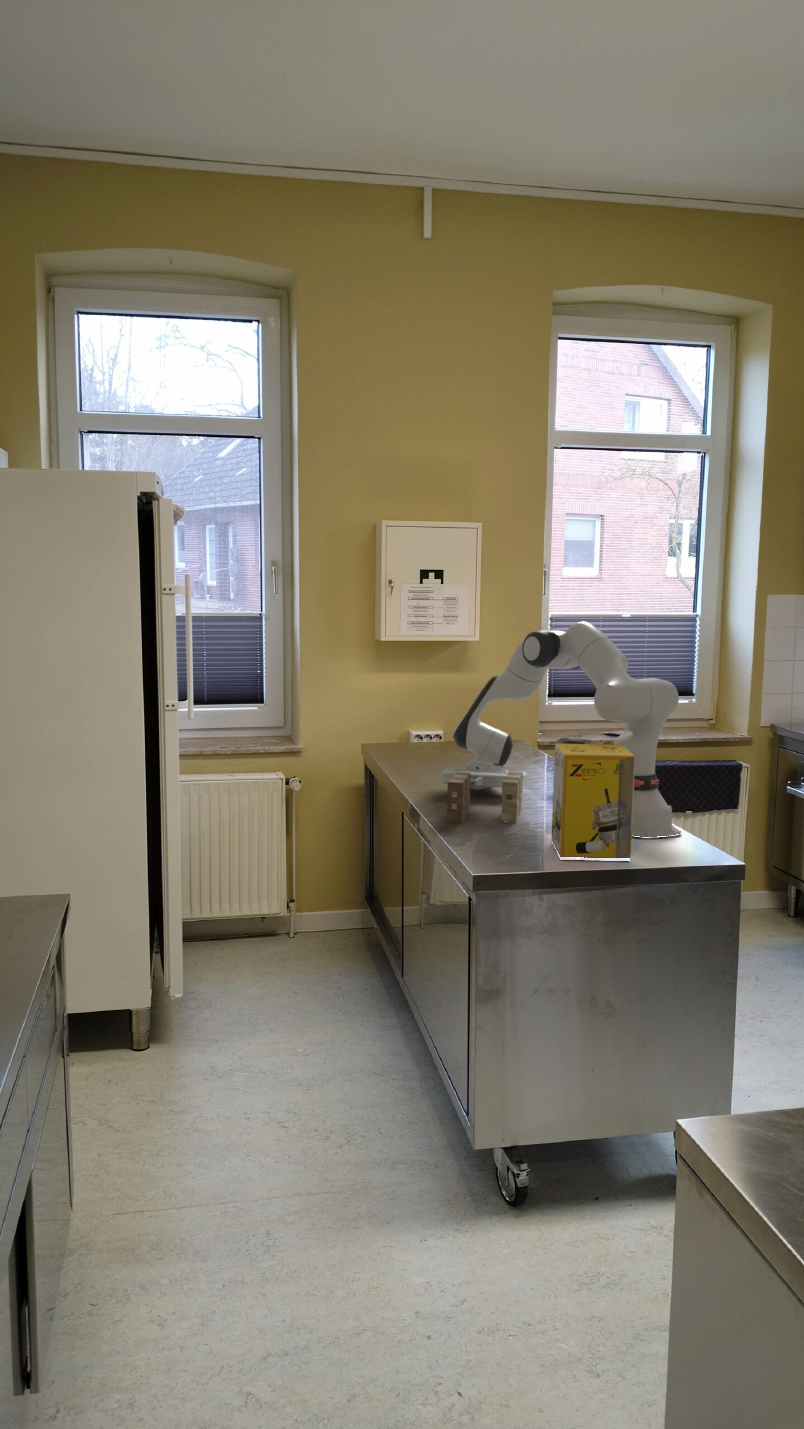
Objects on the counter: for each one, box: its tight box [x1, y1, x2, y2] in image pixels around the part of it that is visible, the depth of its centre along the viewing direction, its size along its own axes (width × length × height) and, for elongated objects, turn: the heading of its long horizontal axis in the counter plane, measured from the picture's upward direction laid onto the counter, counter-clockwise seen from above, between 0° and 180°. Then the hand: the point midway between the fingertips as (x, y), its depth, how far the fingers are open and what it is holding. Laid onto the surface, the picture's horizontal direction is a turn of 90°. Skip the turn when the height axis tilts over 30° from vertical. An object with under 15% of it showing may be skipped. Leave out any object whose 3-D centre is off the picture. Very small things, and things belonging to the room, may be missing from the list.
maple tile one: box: [500, 771, 524, 823], centre depth 276 cm, size 14×4×11 cm, turn 167°
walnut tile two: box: [446, 772, 471, 824], centre depth 275 cm, size 14×4×11 cm, turn 167°
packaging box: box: [550, 743, 635, 858], centre depth 240 cm, size 16×16×25 cm
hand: (472, 783), depth 292 cm, fingers closed
